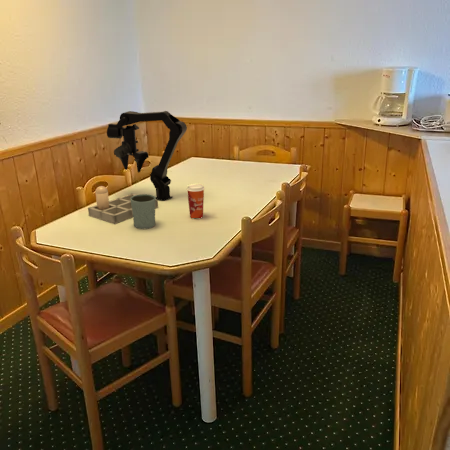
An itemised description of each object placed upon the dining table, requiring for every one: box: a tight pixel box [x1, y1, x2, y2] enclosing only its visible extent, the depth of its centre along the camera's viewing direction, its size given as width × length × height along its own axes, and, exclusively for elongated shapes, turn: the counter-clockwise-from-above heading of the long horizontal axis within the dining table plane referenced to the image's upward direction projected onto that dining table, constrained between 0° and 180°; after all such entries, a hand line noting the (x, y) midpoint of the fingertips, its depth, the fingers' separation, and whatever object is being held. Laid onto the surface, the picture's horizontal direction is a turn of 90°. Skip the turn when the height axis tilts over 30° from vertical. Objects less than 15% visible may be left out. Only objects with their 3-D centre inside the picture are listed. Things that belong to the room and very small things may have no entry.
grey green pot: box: [130, 193, 157, 230], centre depth 180 cm, size 10×10×12 cm
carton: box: [87, 193, 159, 225], centre depth 197 cm, size 17×25×4 cm
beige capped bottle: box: [94, 185, 110, 211], centre depth 192 cm, size 5×5×12 cm
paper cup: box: [186, 183, 206, 219], centre depth 188 cm, size 8×8×14 cm
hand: (132, 170), depth 214 cm, fingers open, 9 cm apart
